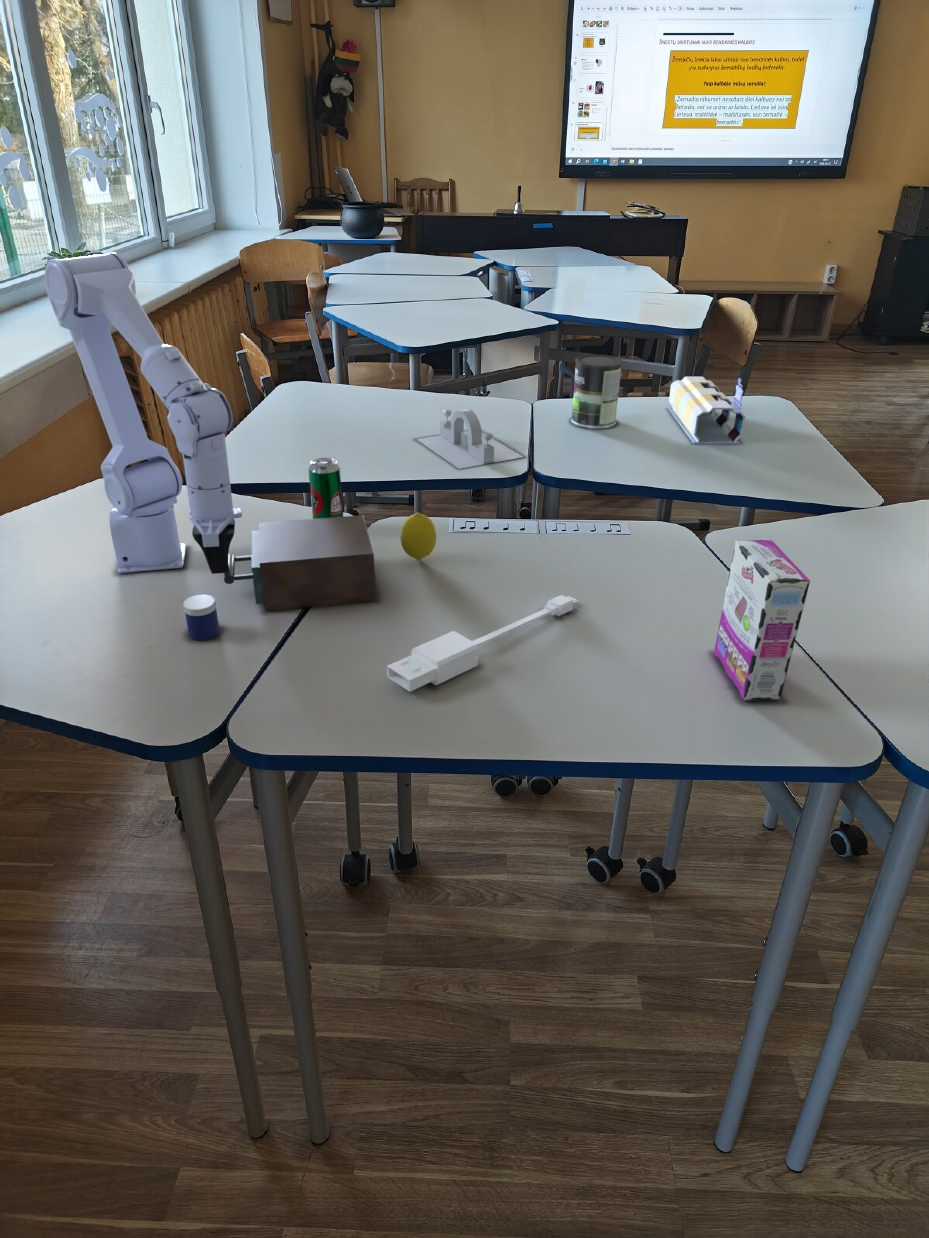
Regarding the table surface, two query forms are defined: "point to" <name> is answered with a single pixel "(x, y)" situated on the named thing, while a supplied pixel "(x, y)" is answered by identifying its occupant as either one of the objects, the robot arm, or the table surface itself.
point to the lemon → (418, 536)
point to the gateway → (467, 442)
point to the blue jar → (201, 617)
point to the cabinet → (316, 562)
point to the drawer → (255, 566)
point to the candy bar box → (760, 619)
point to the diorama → (706, 411)
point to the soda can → (325, 488)
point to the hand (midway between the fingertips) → (219, 571)
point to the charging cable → (458, 651)
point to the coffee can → (596, 391)
